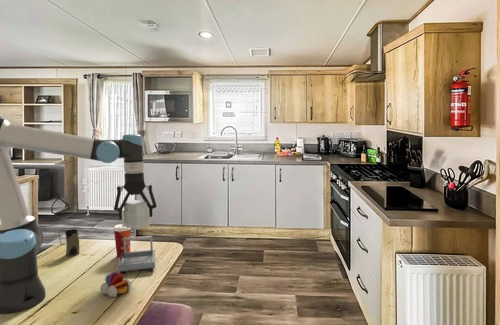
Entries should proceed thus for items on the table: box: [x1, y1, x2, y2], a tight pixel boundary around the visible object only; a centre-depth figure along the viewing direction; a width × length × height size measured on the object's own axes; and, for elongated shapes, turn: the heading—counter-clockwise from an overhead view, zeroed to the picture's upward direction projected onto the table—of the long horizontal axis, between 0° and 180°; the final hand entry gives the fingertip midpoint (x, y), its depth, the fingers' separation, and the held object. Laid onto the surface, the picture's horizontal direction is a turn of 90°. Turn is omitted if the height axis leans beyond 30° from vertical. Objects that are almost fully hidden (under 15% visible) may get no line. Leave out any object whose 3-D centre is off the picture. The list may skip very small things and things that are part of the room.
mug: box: [58, 228, 80, 257], centre depth 156 cm, size 8×6×12 cm
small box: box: [123, 199, 149, 231], centre depth 141 cm, size 8×6×10 cm
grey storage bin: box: [117, 235, 156, 275], centre depth 143 cm, size 14×14×10 cm
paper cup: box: [112, 223, 132, 259], centre depth 154 cm, size 8×8×14 cm
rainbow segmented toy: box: [99, 271, 132, 298], centre depth 121 cm, size 8×10×7 cm
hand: (136, 225), depth 142 cm, fingers closed on small box, 9 cm apart
